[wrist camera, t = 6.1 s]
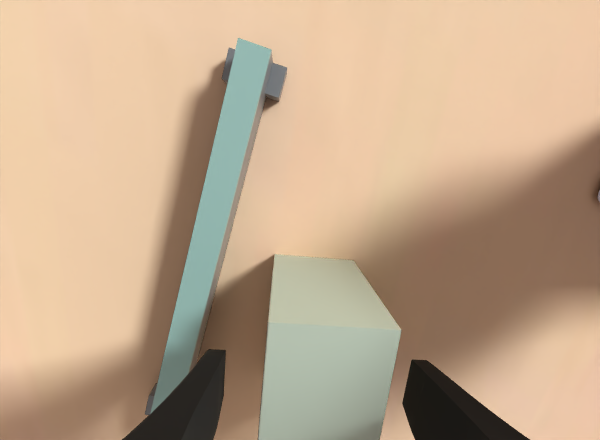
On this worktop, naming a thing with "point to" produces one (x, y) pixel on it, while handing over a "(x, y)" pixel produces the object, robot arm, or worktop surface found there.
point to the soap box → (325, 353)
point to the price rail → (217, 206)
